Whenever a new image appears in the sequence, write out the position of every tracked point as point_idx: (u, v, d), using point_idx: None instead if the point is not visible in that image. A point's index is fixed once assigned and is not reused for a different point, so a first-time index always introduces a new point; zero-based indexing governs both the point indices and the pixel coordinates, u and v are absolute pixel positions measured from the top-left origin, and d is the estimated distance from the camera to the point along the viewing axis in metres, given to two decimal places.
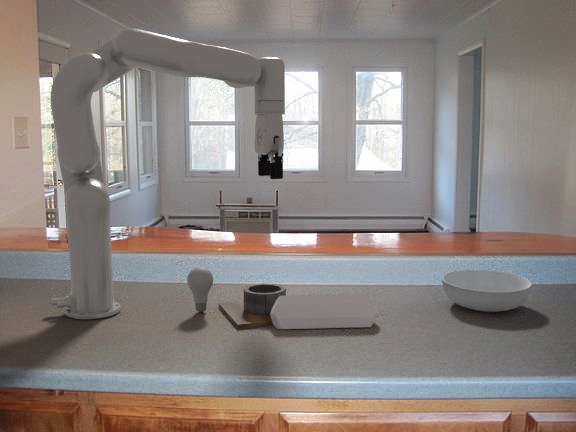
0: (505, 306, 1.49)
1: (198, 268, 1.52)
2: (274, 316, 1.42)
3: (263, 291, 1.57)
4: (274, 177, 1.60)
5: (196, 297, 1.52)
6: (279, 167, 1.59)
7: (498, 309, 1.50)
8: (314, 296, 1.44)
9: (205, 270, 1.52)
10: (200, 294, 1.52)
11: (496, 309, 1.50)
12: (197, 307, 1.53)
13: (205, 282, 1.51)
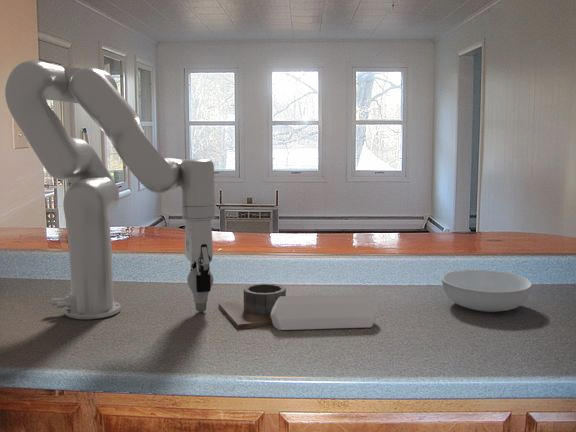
0: (505, 306, 1.49)
1: None
2: (274, 317, 1.42)
3: (263, 291, 1.57)
4: (201, 290, 1.50)
5: (196, 297, 1.52)
6: (206, 280, 1.49)
7: (498, 309, 1.50)
8: (314, 296, 1.44)
9: None
10: (200, 294, 1.52)
11: (496, 309, 1.50)
12: (197, 307, 1.53)
13: None
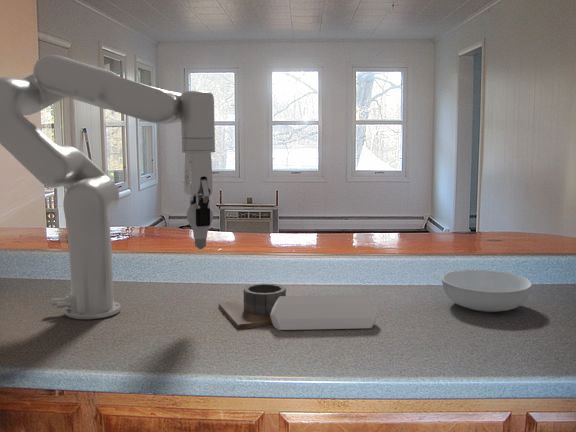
0: (505, 306, 1.49)
1: None
2: (274, 317, 1.42)
3: (263, 291, 1.57)
4: (200, 224, 1.48)
5: (196, 233, 1.50)
6: (205, 214, 1.47)
7: (498, 309, 1.50)
8: (314, 297, 1.43)
9: None
10: (200, 229, 1.49)
11: (496, 309, 1.50)
12: (197, 243, 1.51)
13: None
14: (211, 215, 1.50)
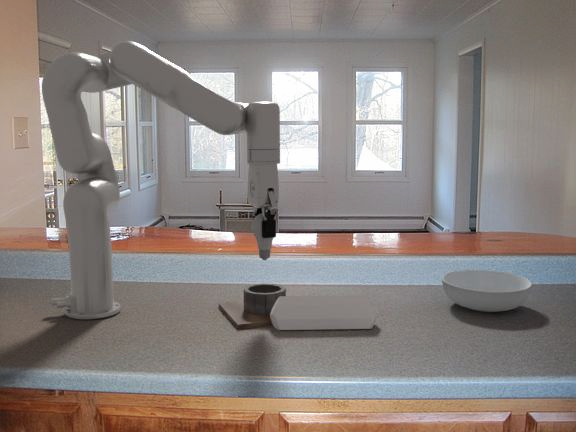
0: (505, 306, 1.49)
1: None
2: (273, 317, 1.42)
3: (263, 291, 1.57)
4: (266, 236, 1.47)
5: (261, 244, 1.49)
6: (272, 225, 1.46)
7: (498, 309, 1.50)
8: (314, 297, 1.43)
9: None
10: (265, 240, 1.49)
11: (496, 309, 1.50)
12: (261, 254, 1.50)
13: None
14: (276, 226, 1.49)
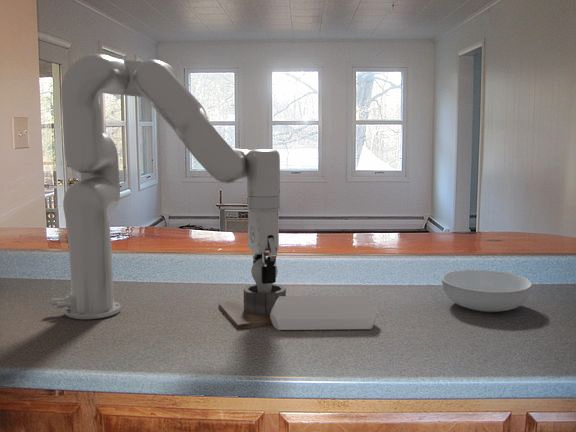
0: (505, 306, 1.49)
1: None
2: (273, 317, 1.42)
3: None
4: (266, 281, 1.49)
5: (261, 289, 1.51)
6: (271, 271, 1.48)
7: (498, 309, 1.50)
8: (314, 297, 1.43)
9: None
10: (265, 285, 1.50)
11: (496, 309, 1.50)
12: None
13: None
14: (276, 271, 1.51)
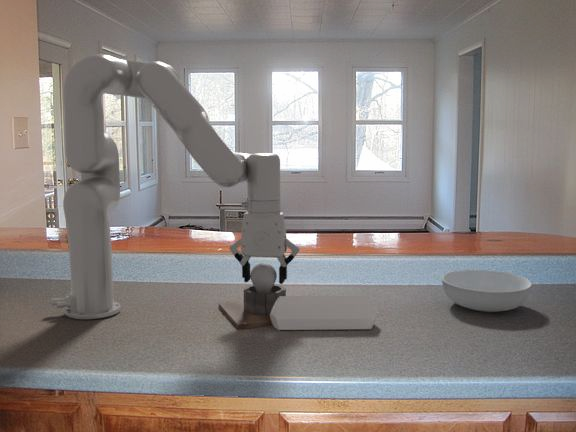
0: (505, 306, 1.49)
1: (265, 264, 1.51)
2: (273, 316, 1.42)
3: None
4: (282, 281, 1.51)
5: None
6: (286, 270, 1.51)
7: (498, 309, 1.50)
8: (314, 297, 1.43)
9: None
10: (270, 289, 1.52)
11: (496, 309, 1.50)
12: None
13: (276, 276, 1.52)
14: None
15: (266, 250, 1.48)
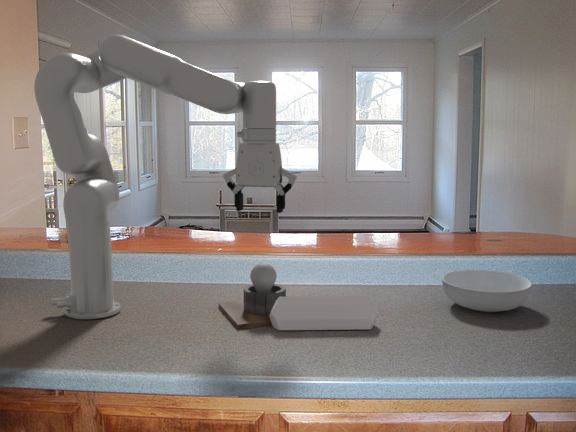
0: (505, 306, 1.49)
1: (265, 264, 1.51)
2: (273, 317, 1.42)
3: None
4: (280, 210, 1.48)
5: None
6: (284, 199, 1.49)
7: (498, 309, 1.50)
8: (314, 297, 1.43)
9: None
10: (270, 289, 1.52)
11: (496, 309, 1.50)
12: None
13: (276, 275, 1.52)
14: None
15: (261, 179, 1.46)
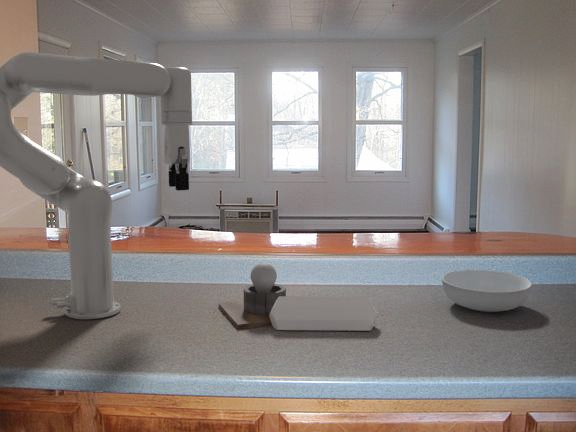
0: (505, 306, 1.49)
1: (265, 264, 1.51)
2: (272, 317, 1.42)
3: None
4: (179, 188, 1.58)
5: None
6: (184, 178, 1.57)
7: (498, 309, 1.50)
8: (313, 298, 1.43)
9: None
10: (271, 289, 1.52)
11: (496, 309, 1.50)
12: None
13: (276, 276, 1.52)
14: None
15: (167, 158, 1.59)
